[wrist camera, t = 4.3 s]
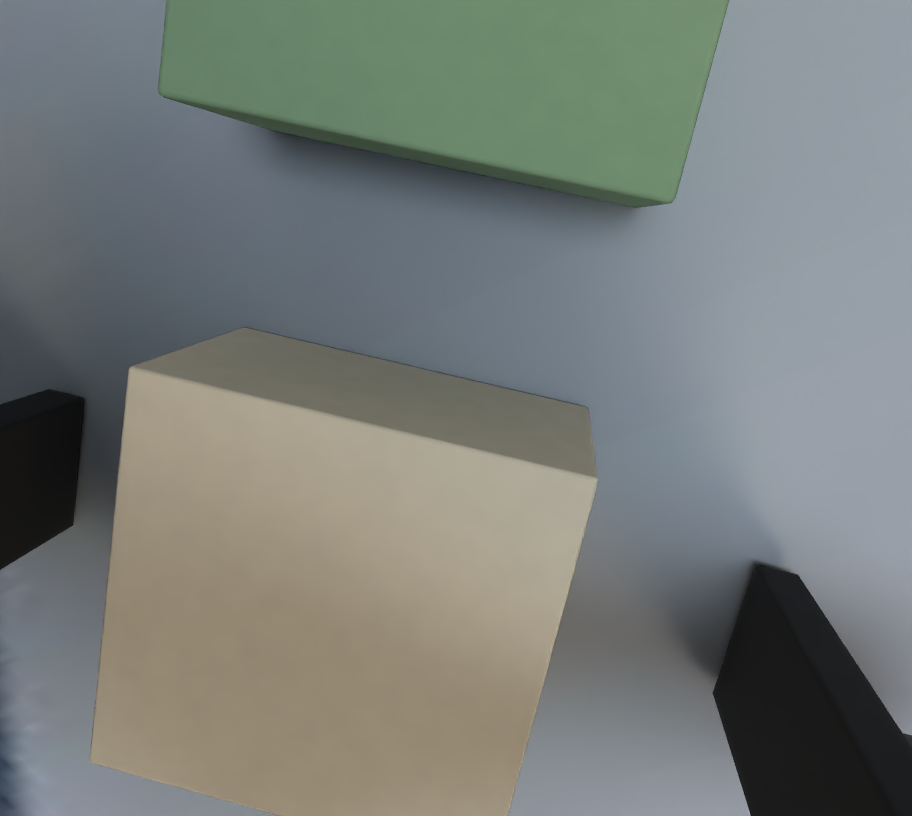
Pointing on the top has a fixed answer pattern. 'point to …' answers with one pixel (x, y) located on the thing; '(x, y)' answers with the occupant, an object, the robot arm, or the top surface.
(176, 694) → the beige block
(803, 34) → the top surface
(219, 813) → the top surface
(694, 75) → the sage block
